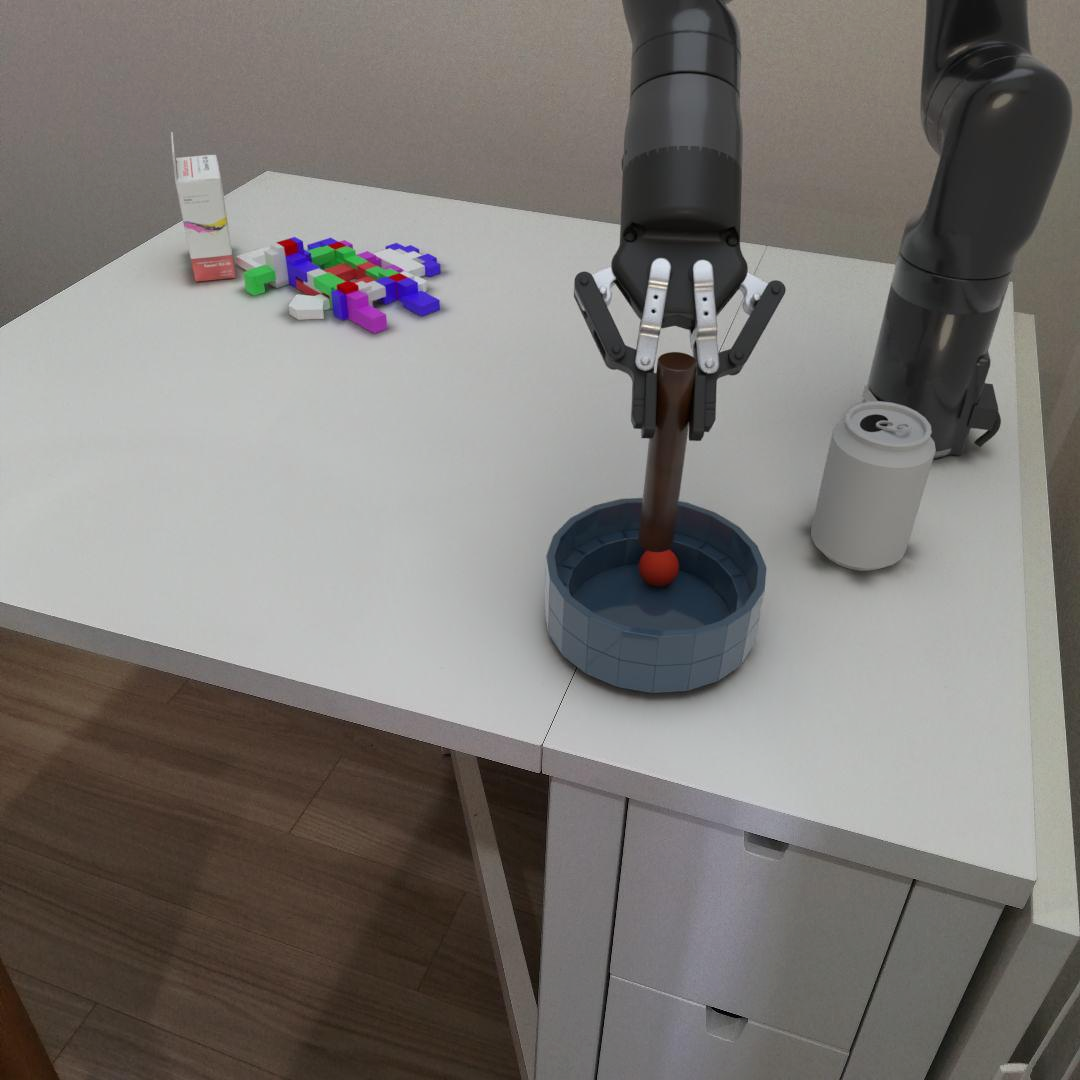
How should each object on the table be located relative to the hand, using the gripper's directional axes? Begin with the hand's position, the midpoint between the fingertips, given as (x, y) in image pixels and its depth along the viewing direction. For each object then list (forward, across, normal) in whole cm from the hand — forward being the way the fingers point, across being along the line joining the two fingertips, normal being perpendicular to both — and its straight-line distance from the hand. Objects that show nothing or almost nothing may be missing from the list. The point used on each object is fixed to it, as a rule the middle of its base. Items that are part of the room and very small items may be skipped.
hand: (672, 436), depth 65 cm
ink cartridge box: (-31, -49, +56) cm, 81 cm away
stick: (+6, 0, +8) cm, 10 cm away
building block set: (-29, -32, +54) cm, 69 cm away
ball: (+7, +1, +15) cm, 16 cm away
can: (+4, +17, +21) cm, 28 cm away
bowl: (+11, 0, +14) cm, 18 cm away
